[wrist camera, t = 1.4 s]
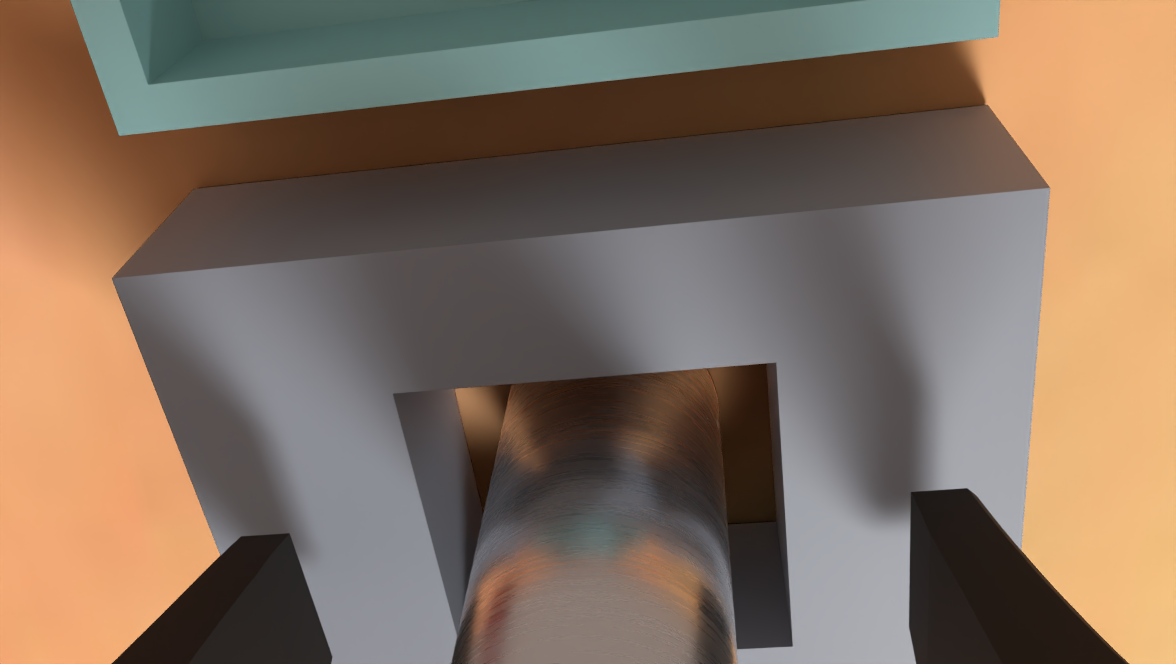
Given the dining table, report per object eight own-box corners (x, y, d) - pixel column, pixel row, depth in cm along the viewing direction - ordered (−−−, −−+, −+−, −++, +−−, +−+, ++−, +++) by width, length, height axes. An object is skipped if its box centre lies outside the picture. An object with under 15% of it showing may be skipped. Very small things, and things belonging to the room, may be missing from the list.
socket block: (987, 104, 13) (1050, 187, 11) (963, 599, 17) (1006, 730, 15) (193, 188, 14) (112, 278, 12) (342, 633, 18) (300, 760, 16)
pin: (710, 310, 15) (741, 740, 9) (726, 486, 16) (761, 954, 10) (492, 330, 15) (379, 754, 9) (526, 500, 17) (449, 961, 11)
